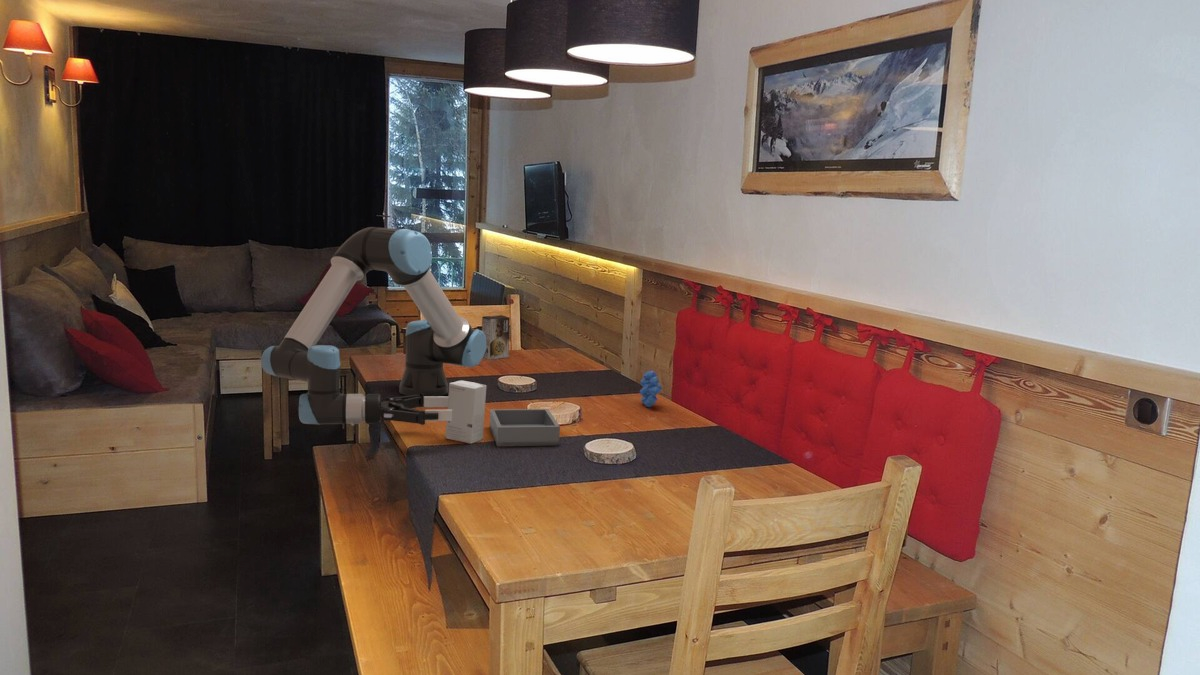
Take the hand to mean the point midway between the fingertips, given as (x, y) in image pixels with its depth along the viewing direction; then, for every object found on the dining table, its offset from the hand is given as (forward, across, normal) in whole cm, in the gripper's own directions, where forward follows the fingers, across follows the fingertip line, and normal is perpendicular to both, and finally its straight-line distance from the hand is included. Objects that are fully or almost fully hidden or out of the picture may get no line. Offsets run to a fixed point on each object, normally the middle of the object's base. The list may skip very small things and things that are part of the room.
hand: (450, 408), depth 215 cm
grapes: (+64, -32, -9) cm, 72 cm away
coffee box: (+23, -111, -9) cm, 113 cm away
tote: (+20, -3, -8) cm, 21 cm away
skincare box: (+4, 0, -9) cm, 9 cm away
